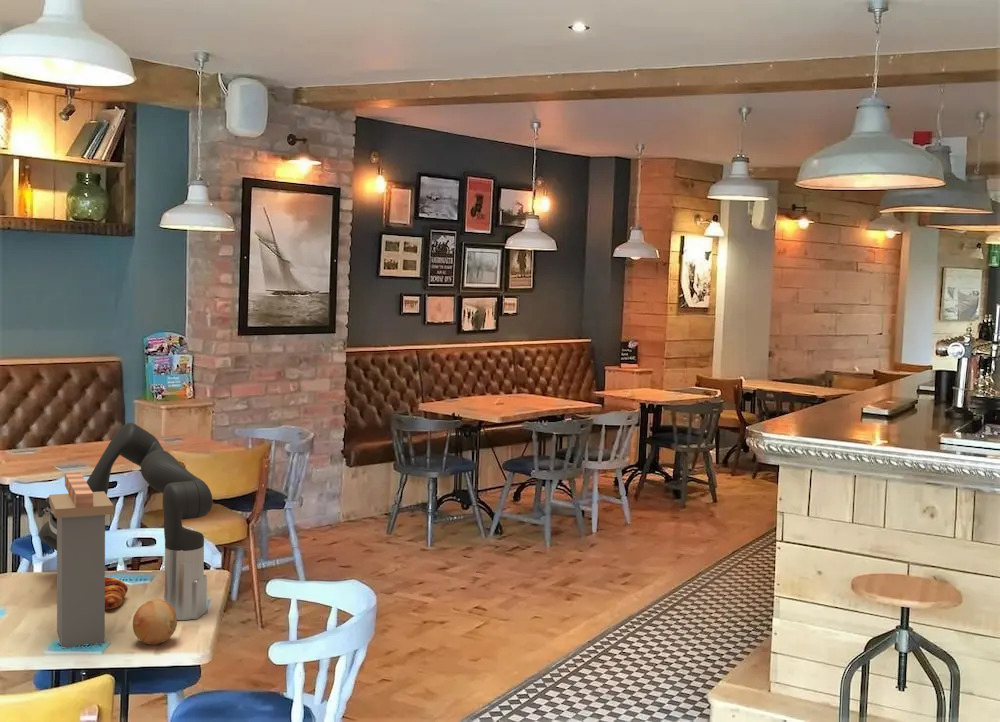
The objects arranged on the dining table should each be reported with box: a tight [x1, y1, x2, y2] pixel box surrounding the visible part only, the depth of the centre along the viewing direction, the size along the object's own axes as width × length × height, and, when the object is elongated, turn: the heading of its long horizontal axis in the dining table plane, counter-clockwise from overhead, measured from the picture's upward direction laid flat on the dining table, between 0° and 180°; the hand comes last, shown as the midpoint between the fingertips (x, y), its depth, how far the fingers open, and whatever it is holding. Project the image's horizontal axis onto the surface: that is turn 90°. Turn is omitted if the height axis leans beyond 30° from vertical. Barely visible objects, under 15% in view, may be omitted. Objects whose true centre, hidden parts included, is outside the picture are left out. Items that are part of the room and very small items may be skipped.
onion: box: [132, 598, 178, 646], centre depth 237 cm, size 10×10×10 cm
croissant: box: [105, 576, 129, 610], centre depth 266 cm, size 21×10×8 cm, turn 29°
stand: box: [48, 491, 114, 648], centre depth 239 cm, size 16×12×32 cm
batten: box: [64, 471, 93, 508], centre depth 242 cm, size 26×4×3 cm, turn 28°
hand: (70, 497), depth 258 cm, fingers open, 8 cm apart
